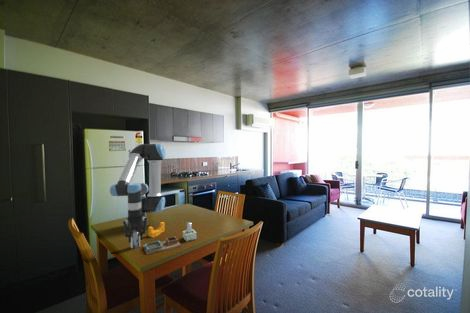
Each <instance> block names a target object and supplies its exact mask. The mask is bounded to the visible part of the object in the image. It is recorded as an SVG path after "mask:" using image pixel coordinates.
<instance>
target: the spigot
mask: <svg viewBox="0 0 470 313" xmlns="http://www.w3.org/2000/svg"><path fill="white" fill-rule="evenodd" d="M139 234H140V233H139V229H132V234H131V236H132V244H133V248H132V249H133V250H134V249H138V248H139V247H140V246H139Z"/></svg>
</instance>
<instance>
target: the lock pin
mask: <svg viewBox="0 0 470 313" xmlns="http://www.w3.org/2000/svg"><path fill="white" fill-rule="evenodd" d="M192 224H193V223H192V222H190V221H187V222H186V230H187V234H190V233H192V229H193V228H192V227H193V226H192Z"/></svg>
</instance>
